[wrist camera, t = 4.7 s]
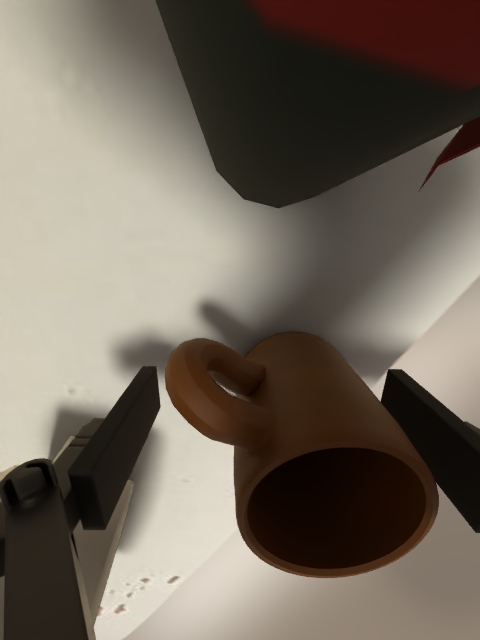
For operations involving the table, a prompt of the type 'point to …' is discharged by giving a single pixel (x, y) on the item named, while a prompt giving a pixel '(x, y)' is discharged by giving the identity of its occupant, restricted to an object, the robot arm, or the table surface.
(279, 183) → the wine bottle
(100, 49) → the table surface
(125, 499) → the alarm clock
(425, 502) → the mug
